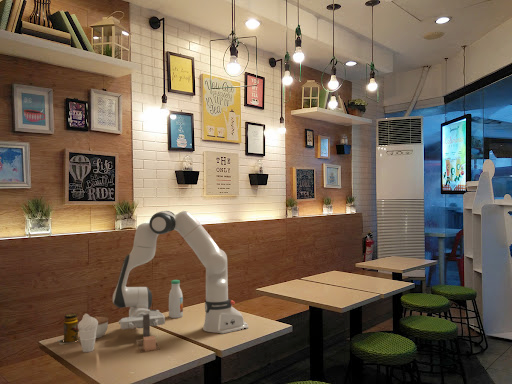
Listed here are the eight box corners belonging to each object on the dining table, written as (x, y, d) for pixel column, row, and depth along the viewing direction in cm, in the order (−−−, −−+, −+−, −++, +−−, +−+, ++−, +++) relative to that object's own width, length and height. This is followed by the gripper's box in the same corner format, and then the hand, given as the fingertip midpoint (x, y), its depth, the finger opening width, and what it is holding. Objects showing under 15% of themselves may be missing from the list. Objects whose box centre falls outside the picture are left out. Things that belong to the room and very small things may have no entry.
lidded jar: (92, 332, 207) (92, 313, 207) (112, 333, 205) (112, 313, 206) (79, 339, 196) (79, 319, 197) (100, 340, 195) (100, 319, 195)
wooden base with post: (135, 342, 189) (135, 313, 190) (153, 340, 193) (153, 311, 193) (140, 355, 174) (140, 323, 174) (160, 352, 177) (160, 320, 177)
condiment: (80, 341, 194) (80, 315, 194) (60, 345, 189) (59, 318, 189) (77, 337, 200) (76, 312, 200) (57, 340, 195) (57, 314, 195)
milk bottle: (176, 319, 228) (176, 282, 229) (165, 317, 232) (165, 281, 233) (185, 315, 235) (185, 279, 236) (175, 314, 239) (174, 278, 239)
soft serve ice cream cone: (95, 346, 187) (95, 309, 187) (100, 351, 180) (100, 313, 180) (75, 350, 182) (75, 312, 182) (80, 355, 175) (80, 316, 176)
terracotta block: (143, 347, 179) (143, 337, 179) (154, 346, 181) (154, 335, 181) (144, 351, 175) (144, 340, 175) (155, 349, 177) (155, 338, 177)
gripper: (118, 314, 199) (120, 321, 186) (161, 309, 207) (167, 316, 194) (118, 327, 199) (121, 335, 186) (161, 322, 207) (167, 329, 194)
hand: (145, 325), depth 190 cm, fingers open, 8 cm apart
